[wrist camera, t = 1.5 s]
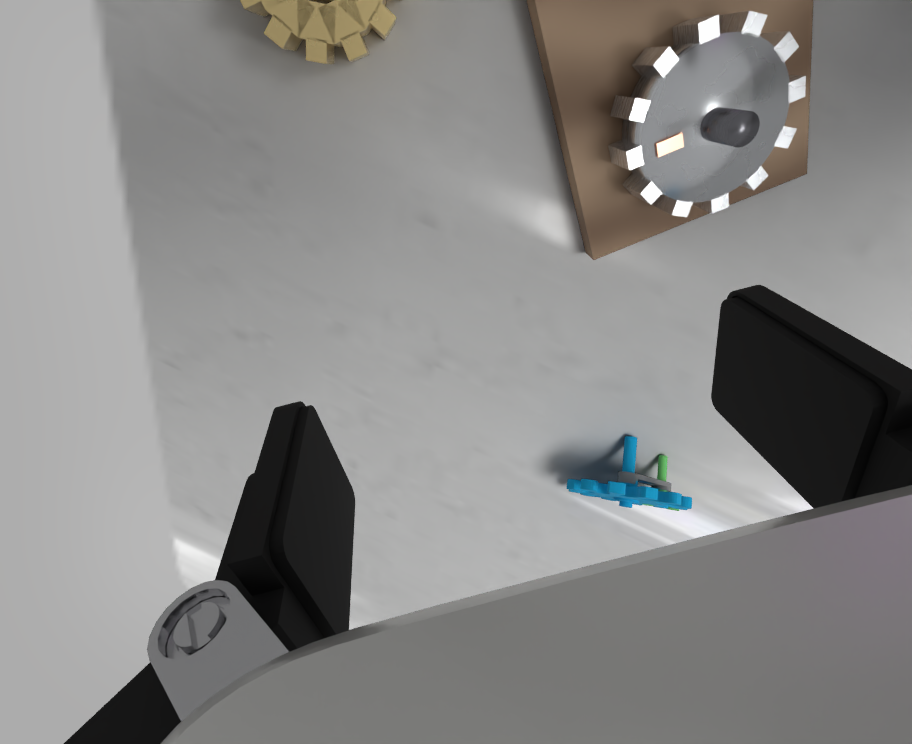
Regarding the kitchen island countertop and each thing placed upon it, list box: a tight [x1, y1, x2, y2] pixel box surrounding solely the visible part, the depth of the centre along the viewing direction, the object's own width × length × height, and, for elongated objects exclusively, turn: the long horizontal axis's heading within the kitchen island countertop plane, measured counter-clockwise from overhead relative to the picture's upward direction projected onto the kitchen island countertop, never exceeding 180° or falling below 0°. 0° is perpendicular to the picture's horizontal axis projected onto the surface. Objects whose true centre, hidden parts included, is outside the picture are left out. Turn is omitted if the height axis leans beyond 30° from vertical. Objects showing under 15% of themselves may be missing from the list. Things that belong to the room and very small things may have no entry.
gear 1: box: [567, 436, 692, 511], centre depth 42 cm, size 11×6×10 cm
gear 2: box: [608, 11, 806, 217], centre depth 25 cm, size 10×10×5 cm
